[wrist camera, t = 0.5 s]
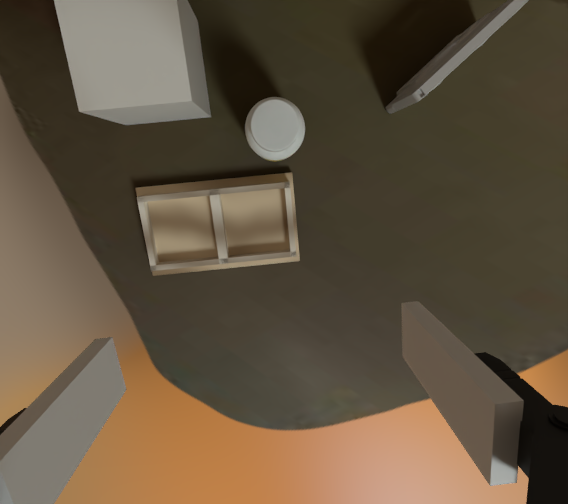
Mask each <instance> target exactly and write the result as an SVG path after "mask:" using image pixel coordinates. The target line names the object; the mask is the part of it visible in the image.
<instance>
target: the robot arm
mask: <svg viewBox="0 0 568 504" xmlns="http://www.w3.org/2000/svg"><path fill="white" fill-rule="evenodd" d="M402 351H403V358H404V359H405V361H406V362H407V364H408V365H409V367H410V368H411V370H412V371H413V373H414V374H415V376H416V377H417V379H418V380H419V382H420V383H421V385H422V386H423V388H424V389H425V390H426V392H427V393H428V395H429V396H430V398H431V399H432V401H433V402H434V404H435V405H436V407H437V408H438V410H439V411H440V413H441V414H442V415H443V417H444V418H445V420H446V421H447V423H448V424H449V426H450V427H451V429H452V430H453V432H454V433H455V435H456V436H457V438H458V439H459V441H460V442H461V444H462V445H463V446H464V448H465V449H466V451H467V452H468V454H469V455H470V457H471V458H472V460H473V461H474V463H475V464H476V466H477V467H478V469H479V470H480V472H481V473H482V475H483V476H484V477H485V479H486V480H487V482H488V483H489V485H490V486H493V485H501V484H509V483H516V482H517V473H518V466H519V467H520V468H521V469H522V471H523V472H524V473H525V474H526V475H527V476H528V478H529V483H528V493H527V502H526V504H568V407H564V406H559V405H552V404H551V403H550V402H549V401H548V400H546V399H545V398H544V397H543V396H542V395H541V394H540V393H538V392H537V391H536V390H535V389H534V388H533V387H531V386H530V385H529V384H528V383H527V382H526V381H524V380H523V379H521V378H520V376H519V375H517V374H516V373H515V372H514V371H511V369H510V368H509V367H508V366H507V365H506V364H505V363H504V362H502V361H501V360H500V359H498V358H496V357H494V356H492V355H490V354H488V353H486V352H484V353H476V354H474V353H473V352H472V351H471V350H469V349H468V348H467V347H466V346H465V345H464V344H463V343H462V342H461V341H460V340H459V339H458V338H457V337H456V336H455V335H454V334H453V333H451V332H450V331H449V330H448V329H447V328H446V327H445V326H444V325H443V324H442V323H441V322H440V321H439V320H438V319H437V318H436V317H434V316H433V315H432V314H431V313H430V312H429V311H428V310H427V309H426V308H425V307H424V306H423V305H422V304H421V303H420V302H419V301H415V302H407V303H402ZM125 391H126V387H125V383H124V379H123V375H122V372H121V368H120V364H119V360H118V356H117V353H116V349H115V345H114V342H113V338H112V337H109V338H100V339H95V340H94V341H93V342H92V343H91V344H90V345H89V346H88V347H87V348H86V349H85V350H84V351H83V352H82V353H81V354H80V355H79V356H78V357H77V358H76V359H75V360H74V361H73V362H72V363H71V364H70V365H69V366H68V367H67V368H66V369H65V370H64V371H63V372H62V373H61V374H60V375H59V376H58V377H57V378H56V379H55V380H54V382H52V383H51V384H50V386H49V387H47V388H46V390H44V391H43V392H42V394H41V395H40V396H39V397H38V398H37V399H36V400H35V401H34V402H33V403H32V404H31V405H30V406H29V407H28V408H24V409H23V410H21V411H20V412H18V413H17V414H15V415H14V416H12V417H11V418H10V419H8V420H7V421H6V422H5V423H4V424H3V425H2V426H1V427H0V504H54V503H55V501H56V500H57V498H58V497H59V495H60V493H61V492H62V490H63V489H64V487H65V486H66V484H67V482H68V481H69V479H70V478H71V476H72V475H73V473H74V471H75V470H76V468H77V467H78V465H79V463H80V462H81V460H82V459H83V457H84V456H85V454H86V452H87V451H88V449H89V448H90V446H91V445H92V443H93V441H94V440H95V438H96V437H97V435H98V433H99V432H100V430H101V429H102V427H103V426H104V424H105V422H106V421H107V419H108V418H109V416H110V415H111V413H112V411H113V410H114V408H115V407H116V405H117V404H118V402H119V400H120V399H121V397H122V396H123V394H124V392H125Z"/></svg>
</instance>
